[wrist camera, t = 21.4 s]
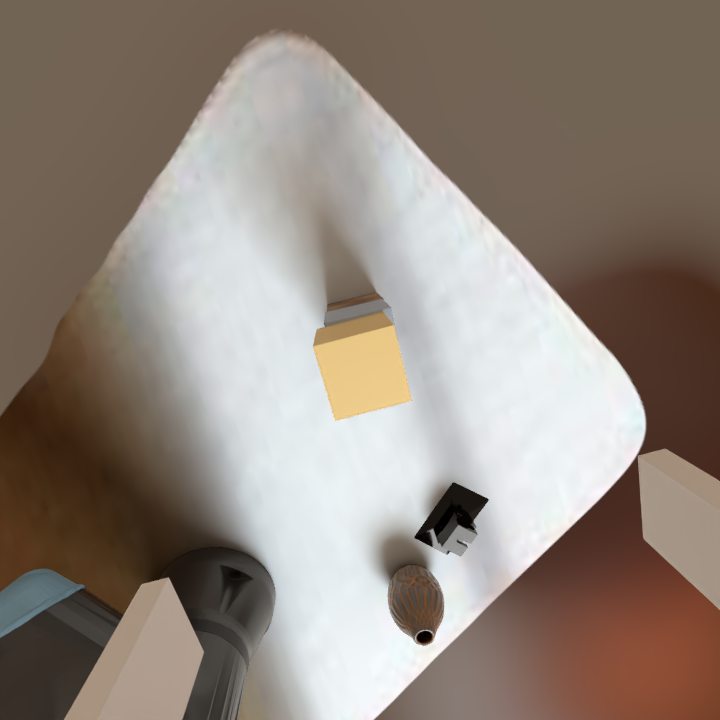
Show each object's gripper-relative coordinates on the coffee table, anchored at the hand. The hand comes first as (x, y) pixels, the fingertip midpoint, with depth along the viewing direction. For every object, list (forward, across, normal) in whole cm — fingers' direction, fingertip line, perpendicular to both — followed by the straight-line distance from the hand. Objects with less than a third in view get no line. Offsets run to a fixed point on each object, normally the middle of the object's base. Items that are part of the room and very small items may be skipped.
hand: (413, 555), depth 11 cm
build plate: (+36, -6, +28) cm, 45 cm away
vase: (+35, +1, +35) cm, 50 cm away
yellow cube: (+23, 0, 0) cm, 23 cm away
